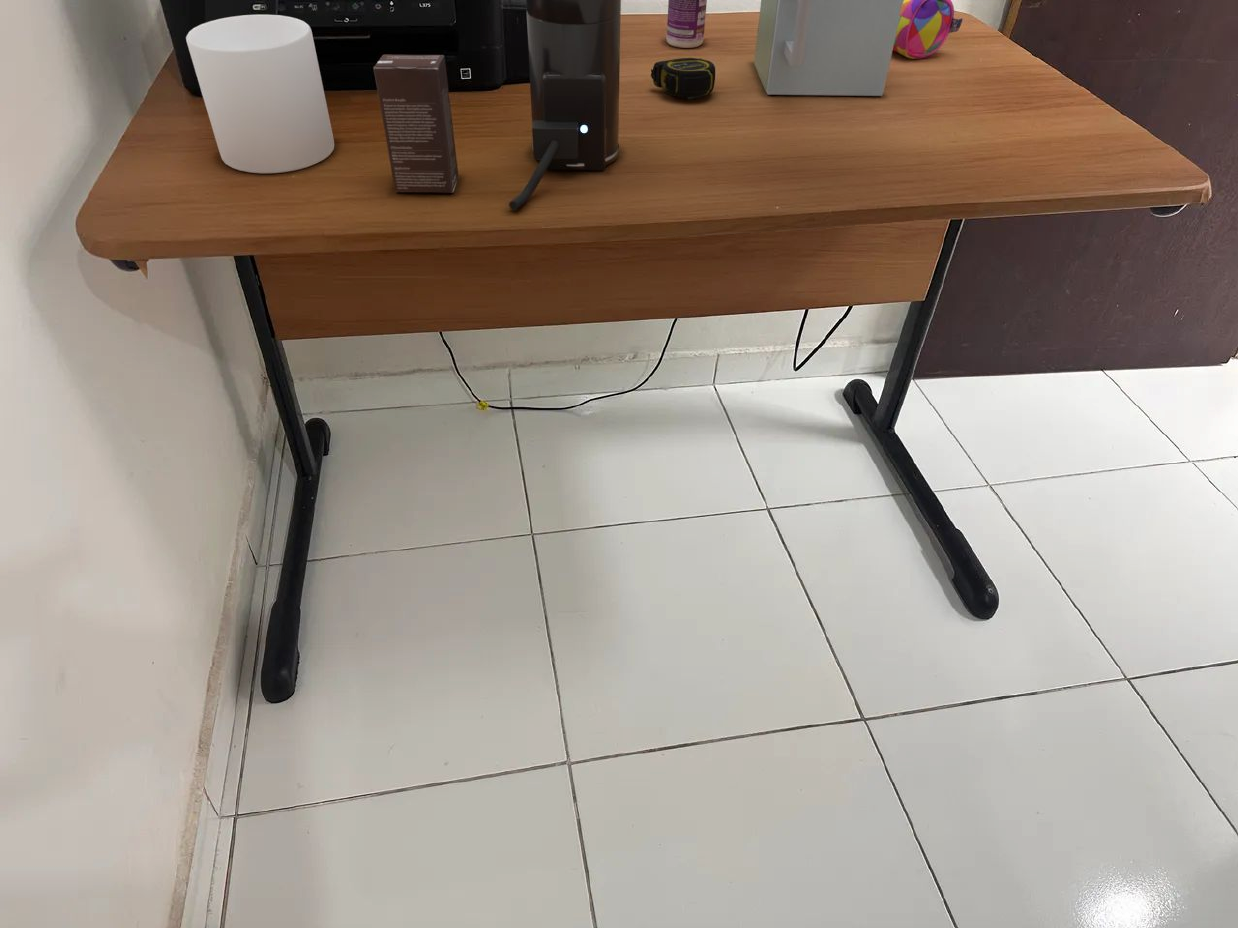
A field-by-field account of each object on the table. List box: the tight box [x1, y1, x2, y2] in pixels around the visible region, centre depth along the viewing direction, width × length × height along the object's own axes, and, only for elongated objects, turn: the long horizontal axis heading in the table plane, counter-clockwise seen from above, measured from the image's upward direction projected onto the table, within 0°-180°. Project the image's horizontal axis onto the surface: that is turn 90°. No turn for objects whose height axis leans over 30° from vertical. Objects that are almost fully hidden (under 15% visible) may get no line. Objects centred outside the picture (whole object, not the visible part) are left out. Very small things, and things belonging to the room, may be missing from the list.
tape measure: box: [650, 57, 716, 100], centre depth 107 cm, size 7×7×4 cm
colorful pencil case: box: [893, 0, 964, 60], centre depth 123 cm, size 22×9×9 cm, turn 26°
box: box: [373, 54, 460, 194], centre depth 84 cm, size 6×4×12 cm
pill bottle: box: [665, 0, 708, 49], centre depth 120 cm, size 5×5×10 cm
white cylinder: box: [185, 14, 335, 174], centre depth 89 cm, size 12×12×12 cm
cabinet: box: [753, 0, 778, 92], centre depth 108 cm, size 11×15×17 cm
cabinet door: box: [765, 0, 903, 97], centre depth 101 cm, size 6×15×16 cm, turn 91°
